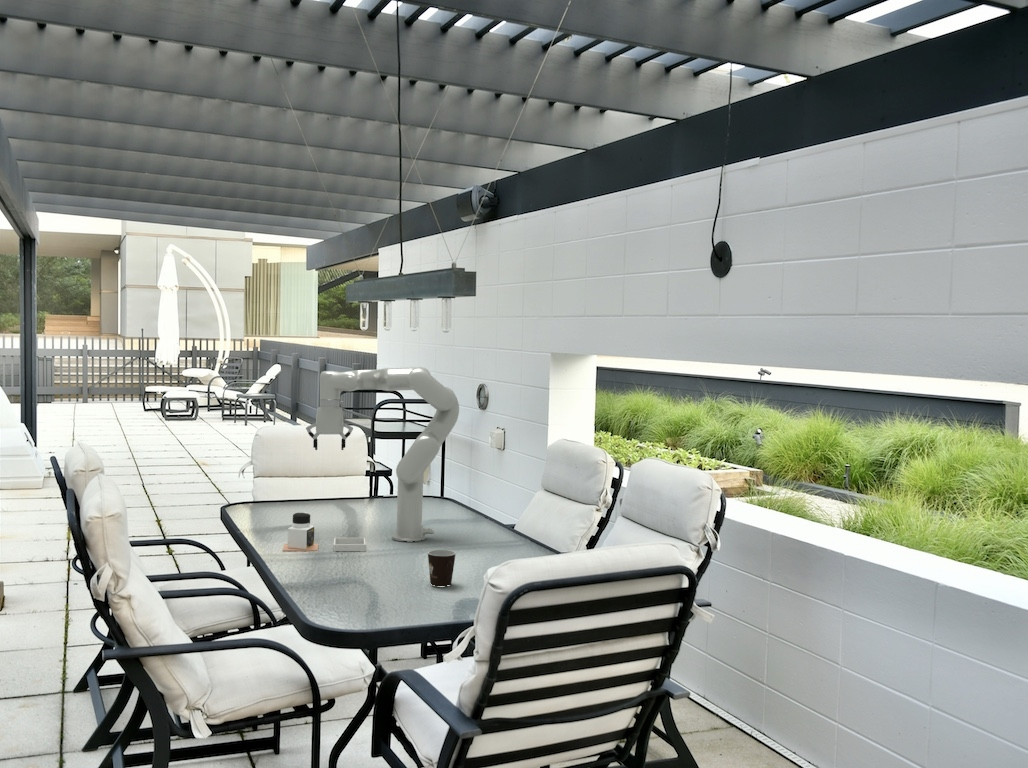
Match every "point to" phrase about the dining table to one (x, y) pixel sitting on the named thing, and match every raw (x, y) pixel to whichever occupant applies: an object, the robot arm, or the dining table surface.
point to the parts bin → (349, 544)
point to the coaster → (312, 548)
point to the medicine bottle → (301, 532)
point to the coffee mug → (441, 567)
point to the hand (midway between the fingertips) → (329, 449)
